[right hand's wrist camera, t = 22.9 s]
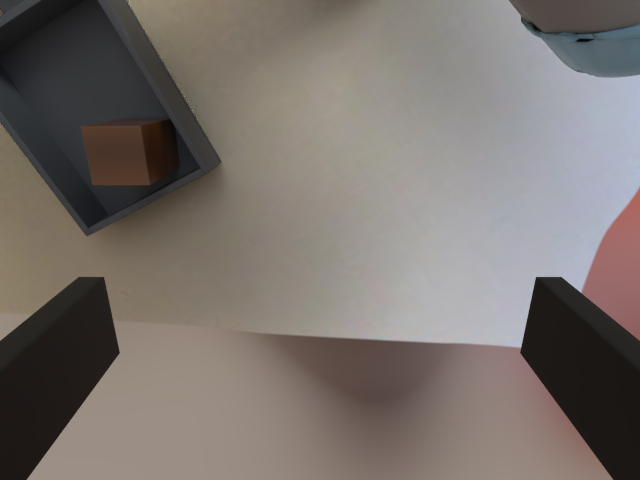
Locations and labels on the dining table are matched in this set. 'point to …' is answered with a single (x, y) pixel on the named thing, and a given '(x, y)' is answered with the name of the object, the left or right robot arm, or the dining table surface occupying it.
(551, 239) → the dining table surface
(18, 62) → the grey tray
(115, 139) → the walnut block
